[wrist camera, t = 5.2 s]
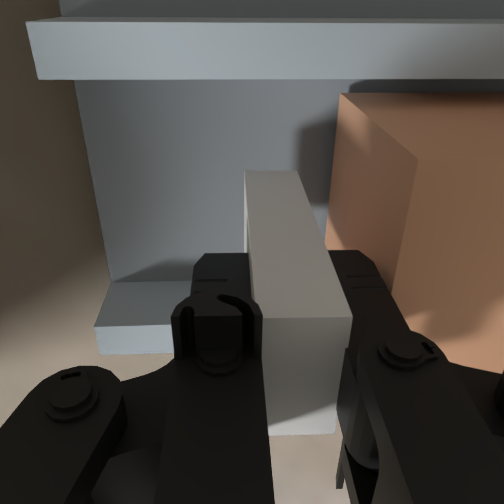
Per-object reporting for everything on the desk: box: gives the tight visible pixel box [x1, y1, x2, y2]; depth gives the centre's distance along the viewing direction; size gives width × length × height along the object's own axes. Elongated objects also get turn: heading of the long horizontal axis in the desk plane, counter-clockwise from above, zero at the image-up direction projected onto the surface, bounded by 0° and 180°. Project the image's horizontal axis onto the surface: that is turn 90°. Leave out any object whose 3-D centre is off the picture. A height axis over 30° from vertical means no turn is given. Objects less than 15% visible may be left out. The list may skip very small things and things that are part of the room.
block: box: [325, 92, 504, 374], centre depth 12 cm, size 6×6×6 cm
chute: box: [26, 0, 504, 355], centre depth 14 cm, size 16×11×4 cm
